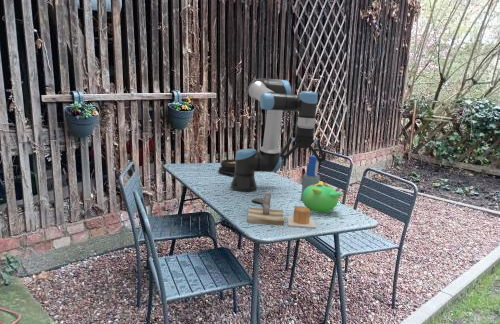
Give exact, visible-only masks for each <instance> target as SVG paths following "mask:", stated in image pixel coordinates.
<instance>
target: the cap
mask: <svg viewBox="0 0 500 324" xmlns="http://www.w3.org/2000/svg"><path fill="white" fill-rule="evenodd" d="M292 217H293V222H295V223H298V224H308V223H309V220H310V218H311V210H310V209H309V208H307V207H306V206H301V205H300V206H294V208H293V216H292Z"/></svg>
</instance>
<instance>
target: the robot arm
mask: <svg viewBox="0 0 500 324" xmlns="http://www.w3.org/2000/svg"><path fill="white" fill-rule="evenodd" d="M247 93H248V96H249V97H250V98H252V99H253V100H255V101H256V100H257V101H258V102H259V105H260V106H259V107H260V108H261V109H262V110H267V111H266V117H265V118H266V119H265V127H264V135H263V141H262V146H261V147H259V151H257V149H255V148H242V149H239V150H237V151H236V152H235V153H236V154H235V158H234V160H235V175H233V178H232V180H231V182H230V189H231V190H233V191H235V192H244V193H246V192H248V193H249V192H254V191H256V190H257V183H256V178H255V174H256V173H255V172H258V173H260V172H261V173H276V172H278V171H279V170H280V168H281V166H284V174H286V175H287V173H288V172H287V171H288V164H289V163H288V162H289V159H288V158H289V156H290V155H291V154H292V153H294V152H295V151H296V150H297V149H298V148H300V149H309V150H310V151H311V152H312V155H313V156H316V158H317V161H316V166H315V176H317V175H318V172H319V170H320V169H321V166H322V162H325V161H326V156H325V153H324V151H323V149H322V146H321V139H320V138H317V139H314V133H315V128H314V127H315V123H316V116H317V108H318V107H317V106H318V102H319V100H318V92H315V91H303V90H302V91H301V92H300V93H299V94H292V88H291V83H290V82H289V81H288V80H285V79H280V78H279V79H277V78H265V77H262V78H256V79H253V80H252V81H251V82H250V83H249V84H248V87H247ZM284 111H286V112H297V113H298V116H297V121H296V122H297V123H296V126H297V127H296V134H295V137H292V136H288V139H287V140H288V141H287V142H286V143H285V145H284V147H283V149H282V150H281V151H280V149H279V147H278V146H279V139H280V130H281V124H282V117H283V112H284ZM293 142H295V144H294V145H293V146H292V147H291V148H290V146H291V143H293ZM313 143H314V144H315V145H316V146H317V149H318V151H319V154H320V156H321V157H320V156H319V154H318V153H317V152H316V150H315V148H314V147H313V146H312V145H313ZM289 148H290V149H289ZM288 149H289V150H288ZM287 150H288V151H287Z"/></svg>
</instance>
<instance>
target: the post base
mask: <svg viewBox="0 0 500 324" xmlns="http://www.w3.org/2000/svg"><path fill="white" fill-rule="evenodd" d="M271 196H272V193H271V192H269V191H265V192H264V193H263V200H264V202H263V203H264V204H262V205H263V206H262V208H261V207H252V206H251V207H249V209H248V215H247V223H248V224H260V225H272V226H284V225H285V218H284V212H283V209H273V208H271V200H272V199H271Z"/></svg>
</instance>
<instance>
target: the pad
mask: <svg viewBox="0 0 500 324" xmlns="http://www.w3.org/2000/svg"><path fill="white" fill-rule="evenodd" d="M286 221H287V227H289V228H299V229H310V230H311V229H313V230H316V229H317V226H316V222H315V221H314V218H313V217H310V220H309V223H308V224H298V223H295V222H293V216H292V215H291V216H289V215H286Z"/></svg>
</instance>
